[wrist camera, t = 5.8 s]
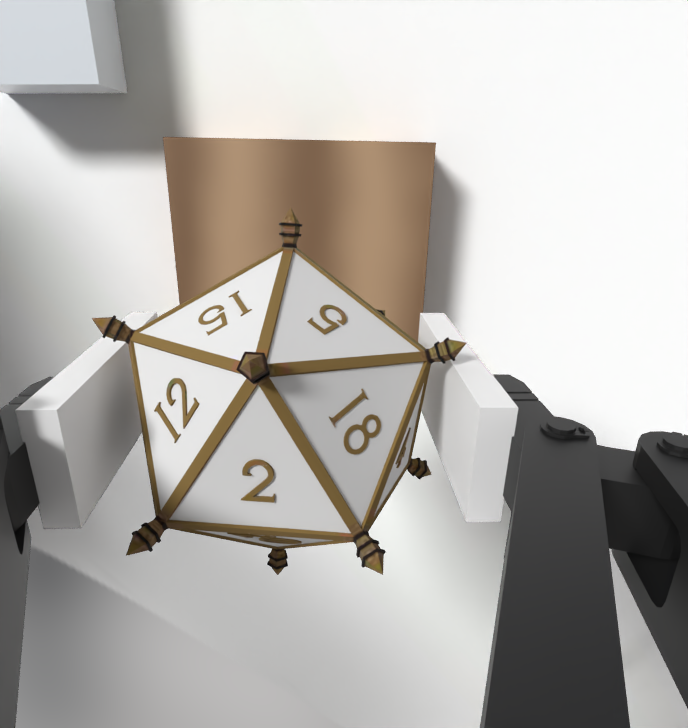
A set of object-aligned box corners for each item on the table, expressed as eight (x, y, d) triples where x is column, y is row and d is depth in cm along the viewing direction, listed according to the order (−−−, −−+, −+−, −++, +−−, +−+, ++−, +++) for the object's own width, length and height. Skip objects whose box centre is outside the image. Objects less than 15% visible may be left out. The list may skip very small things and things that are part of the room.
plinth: (199, 367, 32) (188, 387, 30) (178, 138, 28) (163, 137, 25) (408, 367, 33) (417, 387, 30) (424, 143, 28) (435, 142, 25)
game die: (362, 321, 21) (540, 531, 15) (171, 436, 20) (276, 712, 14) (290, 103, 14) (570, 329, 8) (-11, 263, 13) (36, 671, 7)
